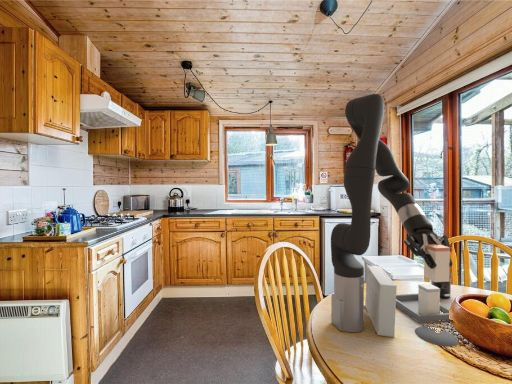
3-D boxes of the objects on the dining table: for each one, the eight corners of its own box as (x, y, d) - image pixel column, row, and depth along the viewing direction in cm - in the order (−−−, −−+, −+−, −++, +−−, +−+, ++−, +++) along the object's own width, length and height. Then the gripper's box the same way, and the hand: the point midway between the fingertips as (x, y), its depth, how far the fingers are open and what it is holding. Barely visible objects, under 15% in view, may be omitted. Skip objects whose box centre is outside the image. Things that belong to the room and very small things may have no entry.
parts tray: (457, 321, 94) (457, 313, 94) (419, 323, 92) (419, 316, 92) (420, 299, 111) (420, 293, 111) (388, 301, 110) (388, 295, 110)
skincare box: (396, 338, 84) (397, 285, 84) (377, 336, 85) (377, 284, 85) (380, 307, 105) (380, 265, 104) (364, 306, 106) (365, 264, 105)
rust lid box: (449, 281, 82) (450, 247, 82) (435, 282, 81) (435, 248, 81) (437, 276, 86) (438, 244, 86) (423, 276, 86) (424, 244, 86)
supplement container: (438, 292, 119) (439, 268, 118) (454, 298, 112) (455, 272, 112) (426, 294, 116) (427, 269, 116) (442, 300, 110) (442, 274, 110)
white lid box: (439, 317, 96) (440, 288, 95) (427, 318, 95) (427, 289, 95) (429, 311, 100) (430, 283, 100) (417, 312, 100) (418, 284, 99)
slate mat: (435, 350, 78) (435, 348, 78) (406, 329, 89) (406, 328, 89) (468, 345, 80) (468, 343, 80) (436, 325, 91) (436, 324, 91)
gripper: (399, 213, 90) (426, 261, 78) (440, 213, 91) (472, 259, 80) (389, 227, 95) (413, 274, 84) (427, 226, 97) (456, 272, 85)
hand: (441, 266), depth 82 cm, fingers closed on rust lid box, 4 cm apart
